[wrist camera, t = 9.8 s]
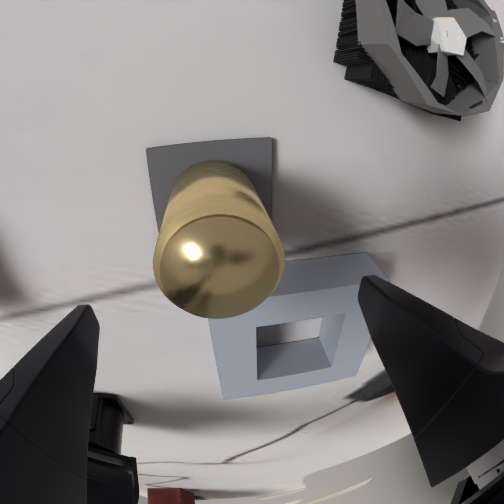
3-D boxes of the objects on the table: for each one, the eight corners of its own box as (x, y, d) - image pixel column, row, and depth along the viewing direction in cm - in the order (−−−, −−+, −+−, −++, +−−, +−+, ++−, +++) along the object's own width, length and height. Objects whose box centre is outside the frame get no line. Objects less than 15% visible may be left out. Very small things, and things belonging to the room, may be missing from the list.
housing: (343, 348, 27) (356, 375, 24) (219, 368, 25) (223, 399, 22) (366, 252, 21) (389, 278, 18) (204, 269, 20) (205, 303, 17)
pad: (270, 244, 19) (271, 247, 19) (164, 254, 19) (163, 257, 18) (270, 137, 16) (271, 138, 16) (147, 148, 15) (145, 149, 15)
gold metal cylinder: (256, 235, 18) (284, 316, 12) (176, 243, 18) (166, 328, 12) (254, 156, 16) (289, 204, 10) (165, 164, 15) (138, 219, 9)
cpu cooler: (366, 78, 10) (383, -81, 5) (318, 79, 15) (338, -48, 10) (496, 145, 12) (509, 13, 7) (440, 125, 17) (455, 15, 12)
